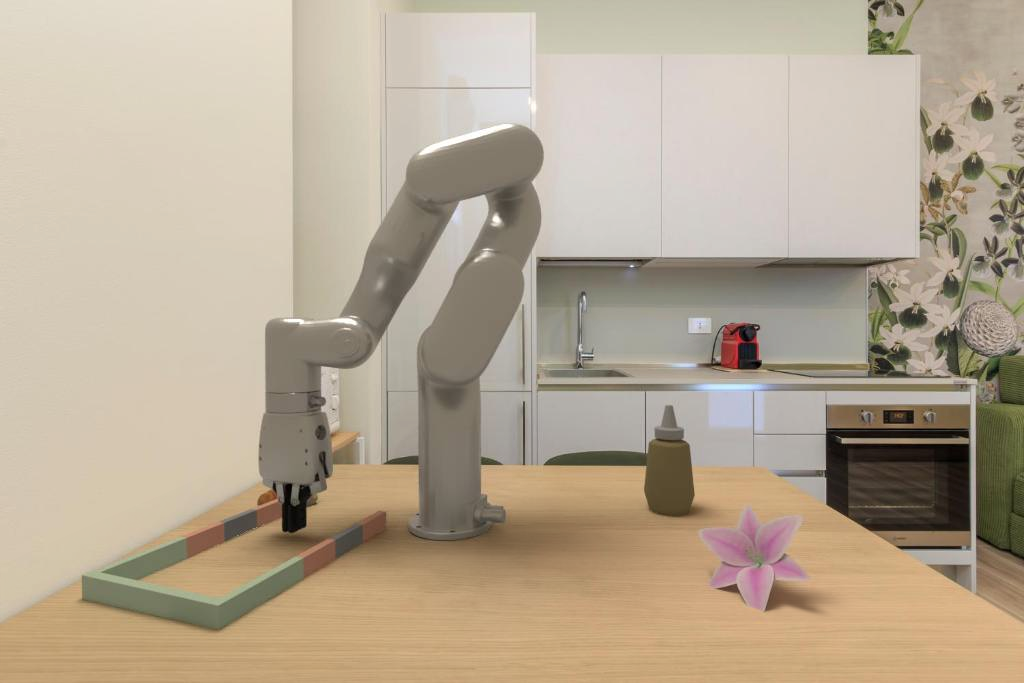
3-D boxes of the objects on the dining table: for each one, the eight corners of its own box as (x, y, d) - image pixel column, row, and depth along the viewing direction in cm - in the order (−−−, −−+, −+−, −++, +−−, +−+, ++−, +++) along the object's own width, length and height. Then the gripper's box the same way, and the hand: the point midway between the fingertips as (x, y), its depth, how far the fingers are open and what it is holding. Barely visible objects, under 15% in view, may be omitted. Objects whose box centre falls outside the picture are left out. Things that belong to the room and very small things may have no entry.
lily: (688, 571, 70) (678, 512, 66) (775, 542, 70) (770, 483, 67) (739, 654, 59) (730, 590, 55) (841, 619, 59) (839, 553, 55)
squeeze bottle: (640, 519, 88) (640, 407, 88) (647, 504, 96) (647, 401, 95) (692, 526, 85) (693, 410, 85) (696, 510, 93) (696, 403, 92)
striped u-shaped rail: (386, 531, 84) (386, 511, 83) (218, 635, 55) (218, 605, 55) (279, 515, 91) (279, 497, 90) (82, 601, 62) (81, 575, 62)
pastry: (265, 516, 90) (266, 493, 89) (250, 505, 94) (251, 483, 94) (321, 504, 96) (321, 482, 96) (304, 494, 101) (304, 474, 101)
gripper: (353, 402, 80) (353, 527, 81) (273, 397, 85) (274, 515, 86) (317, 409, 73) (318, 546, 74) (233, 403, 78) (234, 531, 79)
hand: (294, 529), depth 80 cm, fingers closed
